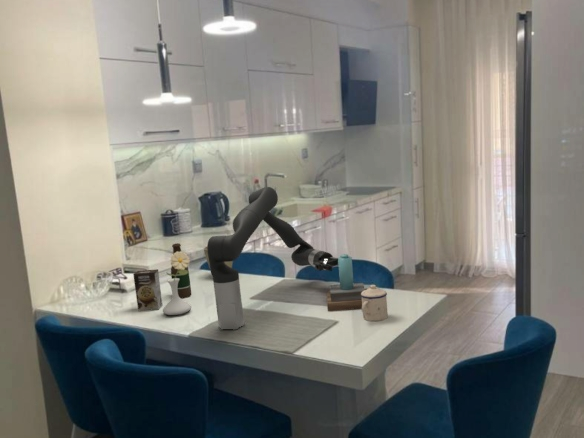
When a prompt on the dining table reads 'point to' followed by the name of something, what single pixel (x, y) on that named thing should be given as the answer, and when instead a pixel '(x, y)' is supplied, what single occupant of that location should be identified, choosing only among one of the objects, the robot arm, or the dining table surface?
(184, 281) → the beer bottle
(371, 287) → the teacup with lid
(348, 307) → the tower base
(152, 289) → the coffee box
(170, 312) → the flower in vase
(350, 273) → the teal bottle
